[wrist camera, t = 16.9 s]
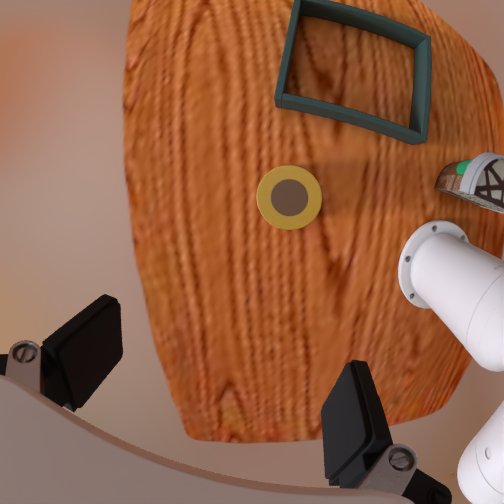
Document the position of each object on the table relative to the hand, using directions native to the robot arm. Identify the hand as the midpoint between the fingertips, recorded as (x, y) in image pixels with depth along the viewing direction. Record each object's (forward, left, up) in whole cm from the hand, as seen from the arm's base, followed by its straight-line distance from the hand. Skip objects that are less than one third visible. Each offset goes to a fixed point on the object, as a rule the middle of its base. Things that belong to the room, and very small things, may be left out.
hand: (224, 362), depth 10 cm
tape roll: (-2, -5, -24) cm, 25 cm away
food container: (-25, -14, -24) cm, 38 cm away
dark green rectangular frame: (-7, -23, -24) cm, 34 cm away
